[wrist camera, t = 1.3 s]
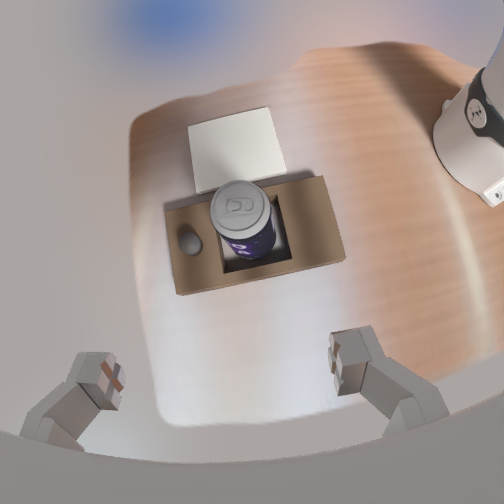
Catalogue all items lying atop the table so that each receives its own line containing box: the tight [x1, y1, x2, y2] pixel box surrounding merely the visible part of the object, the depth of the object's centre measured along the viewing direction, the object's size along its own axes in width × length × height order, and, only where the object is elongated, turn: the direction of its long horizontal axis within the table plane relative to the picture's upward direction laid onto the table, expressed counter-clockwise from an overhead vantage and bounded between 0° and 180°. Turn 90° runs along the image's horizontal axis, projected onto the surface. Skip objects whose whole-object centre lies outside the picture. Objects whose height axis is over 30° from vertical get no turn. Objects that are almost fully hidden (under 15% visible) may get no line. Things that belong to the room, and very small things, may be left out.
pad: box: [188, 107, 287, 195], centre depth 41 cm, size 12×11×1 cm
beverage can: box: [210, 180, 276, 260], centre depth 33 cm, size 6×6×12 cm
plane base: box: [165, 175, 346, 296], centre depth 36 cm, size 20×10×4 cm, turn 101°
